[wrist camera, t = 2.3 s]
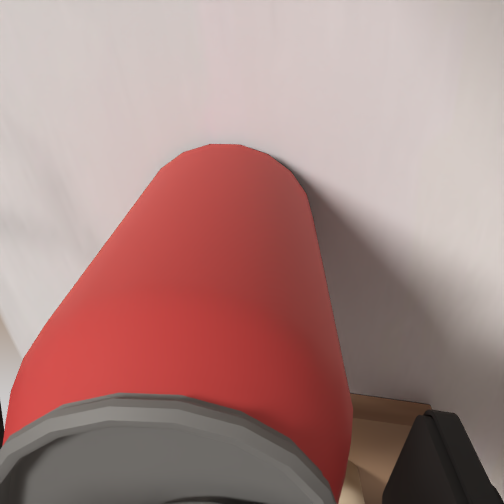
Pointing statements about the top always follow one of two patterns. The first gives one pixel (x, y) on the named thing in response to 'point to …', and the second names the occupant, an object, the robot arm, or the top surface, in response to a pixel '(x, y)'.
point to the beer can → (189, 354)
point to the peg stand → (376, 445)
